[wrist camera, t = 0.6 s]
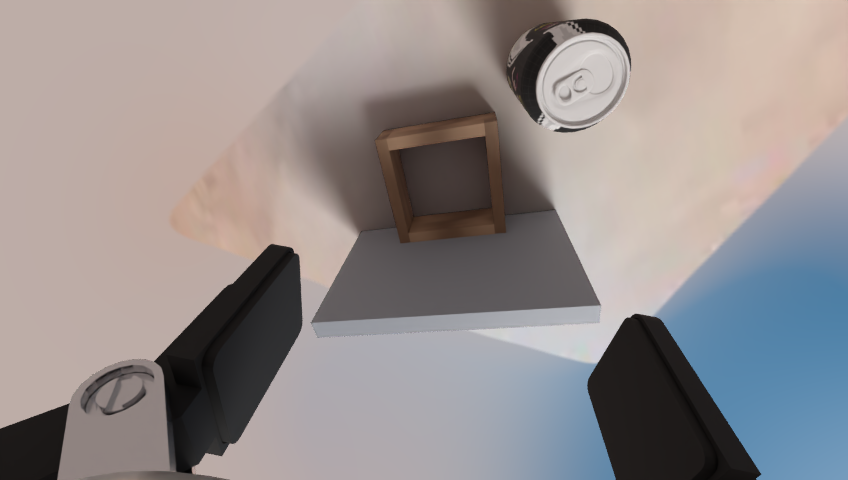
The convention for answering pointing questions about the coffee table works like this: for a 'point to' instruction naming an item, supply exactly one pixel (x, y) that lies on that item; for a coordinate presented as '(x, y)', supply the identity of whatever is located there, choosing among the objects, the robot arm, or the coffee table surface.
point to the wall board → (460, 282)
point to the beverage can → (569, 73)
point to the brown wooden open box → (447, 222)
